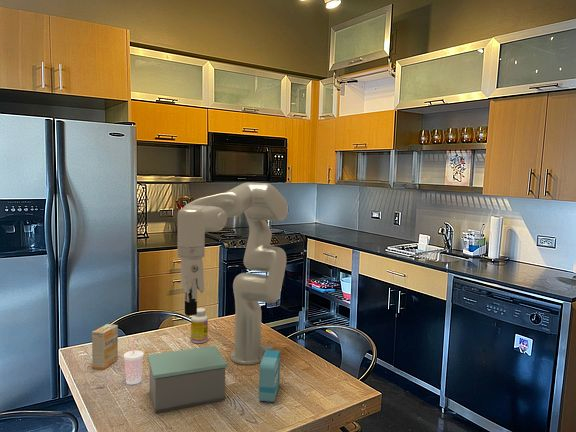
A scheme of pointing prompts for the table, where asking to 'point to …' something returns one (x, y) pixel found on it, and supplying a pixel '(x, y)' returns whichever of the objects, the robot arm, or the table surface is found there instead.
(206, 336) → the supplement bottle
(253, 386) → the table surface
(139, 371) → the beverage cup
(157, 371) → the lid
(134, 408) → the table surface
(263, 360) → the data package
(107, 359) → the supplement box
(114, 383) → the table surface
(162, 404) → the storage box
